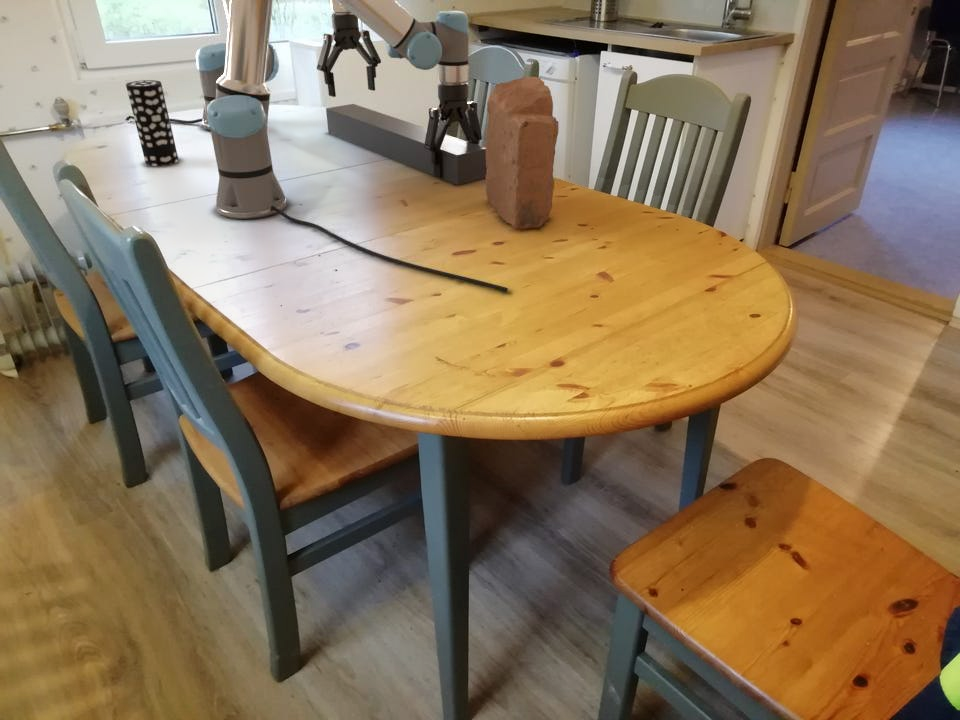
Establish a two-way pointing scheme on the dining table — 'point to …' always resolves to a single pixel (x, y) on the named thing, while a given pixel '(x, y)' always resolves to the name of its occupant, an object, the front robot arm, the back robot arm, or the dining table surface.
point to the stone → (521, 151)
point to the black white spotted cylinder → (152, 122)
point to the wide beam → (406, 143)
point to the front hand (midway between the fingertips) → (454, 172)
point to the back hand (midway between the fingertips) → (352, 93)
